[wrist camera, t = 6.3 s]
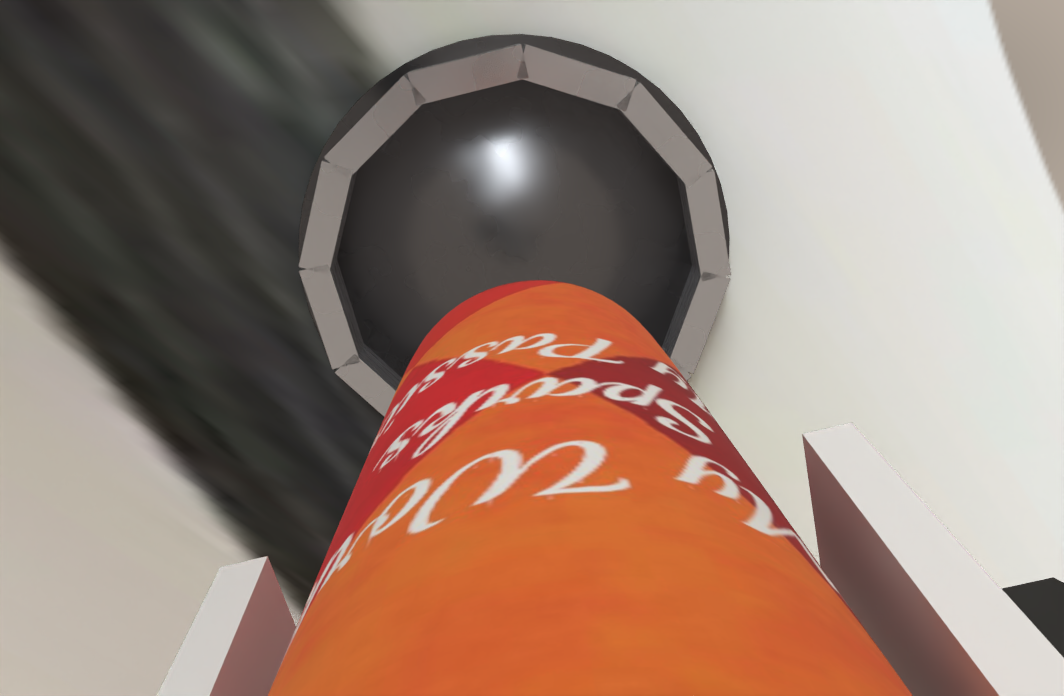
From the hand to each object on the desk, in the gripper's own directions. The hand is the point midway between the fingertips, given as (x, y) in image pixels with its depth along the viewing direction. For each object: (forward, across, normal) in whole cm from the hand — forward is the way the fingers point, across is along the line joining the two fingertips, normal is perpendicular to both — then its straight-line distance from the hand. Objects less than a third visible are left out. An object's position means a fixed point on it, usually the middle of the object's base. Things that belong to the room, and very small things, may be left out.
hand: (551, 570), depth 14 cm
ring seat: (+19, 0, 0) cm, 19 cm away
